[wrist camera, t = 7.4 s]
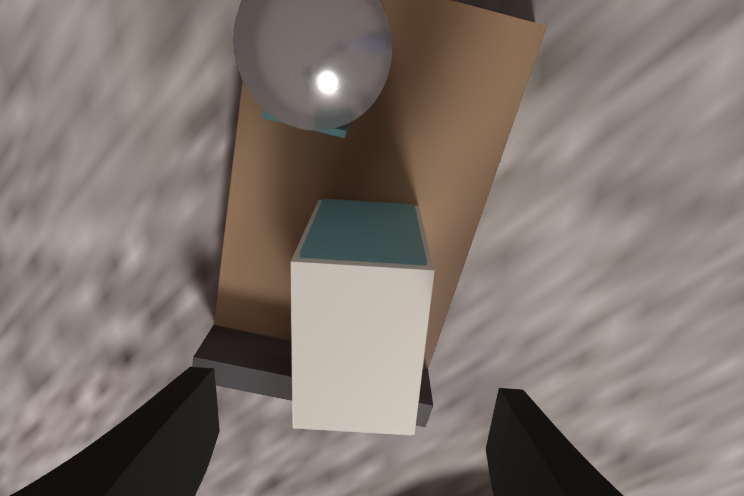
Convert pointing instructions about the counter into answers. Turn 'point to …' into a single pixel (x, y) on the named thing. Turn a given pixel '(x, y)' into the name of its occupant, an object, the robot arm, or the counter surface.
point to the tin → (313, 59)
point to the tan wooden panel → (370, 178)
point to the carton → (360, 317)
